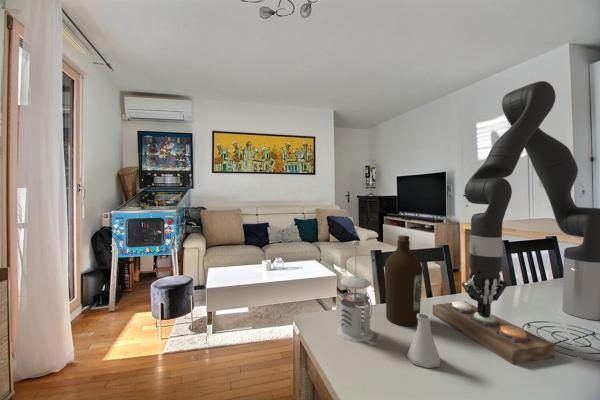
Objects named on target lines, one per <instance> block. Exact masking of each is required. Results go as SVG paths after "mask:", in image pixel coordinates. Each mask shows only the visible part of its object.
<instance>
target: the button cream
mask: <svg viewBox="0 0 600 400" xmlns="http://www.w3.org/2000/svg"><path fill="white" fill-rule="evenodd" d="M465 302H466V301H459V300H458V301H457V300H456V301H452V302H451V303H452V305H451V309H453V310H455V311H457V312H458V313H460V314H465V313H473V309H472V306H471V305H470V304H471V303H469V302H467V303H465ZM468 303H469V304H468Z"/></svg>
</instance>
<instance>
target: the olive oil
mask: <svg viewBox="0 0 600 400" xmlns="http://www.w3.org/2000/svg"><path fill="white" fill-rule="evenodd" d="M397 238H398V240H397V248H396V249H395V250H394V251H393V252H392V253H391V254H390V255H389V256H388V257H387V259H386V260H385V264H384V282H385V284H384V285H385V287H384V288H385V316H386V319H387V320H388V321H389V322H390V323H392V324H394V325H398V326H400V327H414V326H418V318H417V314H418V313H421V301H422V286H423V275H424V274H423V272H424V271H423V266H422V263H421V260H420V259H419V257H417V256H416V254H414V252H413V251H412V250H411V249H410V243H411V241H410V236H409V235H403V234H400V235H397Z"/></svg>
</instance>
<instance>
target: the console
mask: <svg viewBox="0 0 600 400" xmlns="http://www.w3.org/2000/svg"><path fill="white" fill-rule="evenodd" d="M464 302H465V303H468V304H470V305H471V306H472V309H473V313H465V314H460V313H458V312H457V311H455V310H453V309H451V305H452V302H446V303H438V304H432V315H433V316H434V317H436V318H437V319H438V320H439V319H440V320H441V321H443V322H444V323H445V324H448V325H449V326H450V327H452V328H453V329H455V330H456V331H458V332H460V333H462V334H464V335H465V336H467V337H468V338H469V339H471V340H473V341H475V342H476V343H478V344H480V345H481V346H482V347H484V348H486V349H487V350H488V351H490V352H492V353H494V354H496V355H497V356H498V357H501V358H502V359H503V360H505V361H506V362H508V363H510V364H512V365H517V364H522V363H528V362H533V361H539V360H545V359H552V358H555V352H556V351H555V350H556V349H555V343H553V342H550V341H549V340H546V339H544V338H542V337H540V336H538V335H536V334H534V333H532V332H530V331H527V330H526V329H524V328H523V327H520V326H517V325H515V324H513V323H511V322H510V321H509V322H508V321H507V320H506V319H503V318H500V317H498V316H497V315H495V314H492V313H490V314H491V315H493V316H495V317H496V321H497V322H498V323H497V326H489V327H484V326H482V325H480V324H479V323H477V322H475V321H473V320H472V319H473V316H474V313H476V312H477V310H478V306H477V305H473V304H472V303H470V302H467V301H464ZM504 325H508V326H514V327H517V328H520V329H522V330H524V331H525V332H526V336H528V341H525V342H518V343H514V342H512V341H510V340H508V339H506V338H504V337H503V336H501V335H499V330H501V326H504Z"/></svg>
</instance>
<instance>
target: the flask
mask: <svg viewBox="0 0 600 400" xmlns="http://www.w3.org/2000/svg"><path fill="white" fill-rule="evenodd" d="M417 318H418V324H417V325H416V326H417V327H416V331H415V333H414V337H413V339H412V341H411V344H410V346H409V349H408V352H407V355H406V358H407V359H408V360H409V361H410V362H411V363H412V365H416V366H420V367H422V368H423V367H424V368H427V369H430V368H440V367H441V357H440V354H439V352H438V351H439V350H438V348H437V347H436V343H435V339H434V337H433V334H432V333H433V332H432V327H431V322H432V319H433V318H432V316H431V315H429V314H428V313H424V312H422V313H421V312H420V313H418V314H417Z"/></svg>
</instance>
